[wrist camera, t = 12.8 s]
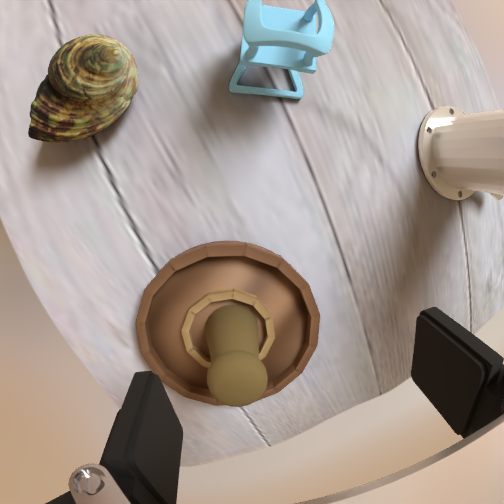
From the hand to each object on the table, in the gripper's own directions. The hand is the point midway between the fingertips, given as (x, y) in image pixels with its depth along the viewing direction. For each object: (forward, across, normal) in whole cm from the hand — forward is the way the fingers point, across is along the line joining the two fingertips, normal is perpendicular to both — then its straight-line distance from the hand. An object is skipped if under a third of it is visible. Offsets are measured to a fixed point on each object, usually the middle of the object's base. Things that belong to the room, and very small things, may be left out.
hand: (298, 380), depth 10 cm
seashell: (+24, +13, -19) cm, 33 cm away
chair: (+24, -5, -18) cm, 31 cm away
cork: (+22, +4, +10) cm, 25 cm away
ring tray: (+23, +4, +10) cm, 26 cm away
